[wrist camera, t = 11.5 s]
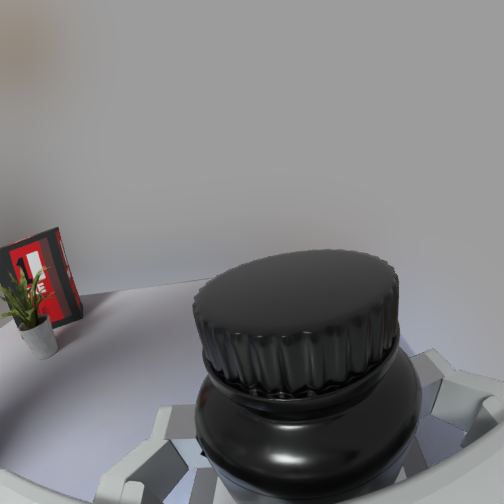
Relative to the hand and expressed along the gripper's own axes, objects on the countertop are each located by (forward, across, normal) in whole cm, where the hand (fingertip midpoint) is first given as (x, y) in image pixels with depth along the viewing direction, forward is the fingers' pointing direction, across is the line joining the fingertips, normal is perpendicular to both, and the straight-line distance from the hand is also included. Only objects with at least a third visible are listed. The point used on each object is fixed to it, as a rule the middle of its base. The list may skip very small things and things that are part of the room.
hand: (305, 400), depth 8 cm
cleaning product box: (+41, +49, +14) cm, 65 cm away
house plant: (+27, +40, +14) cm, 50 cm away
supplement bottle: (-1, 0, +7) cm, 7 cm away
